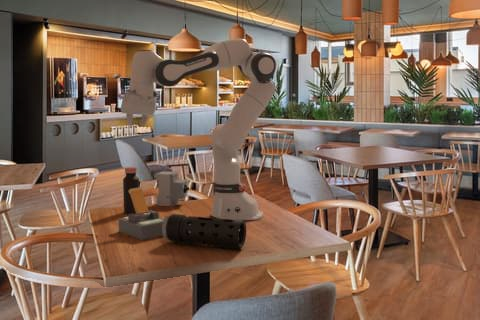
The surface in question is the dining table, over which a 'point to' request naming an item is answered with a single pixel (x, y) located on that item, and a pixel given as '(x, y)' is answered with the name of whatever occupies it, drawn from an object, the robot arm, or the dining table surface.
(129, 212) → the bottle
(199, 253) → the dining table surface
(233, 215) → the robot arm
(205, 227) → the muzzle brake
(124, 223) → the panel
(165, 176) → the circuit breaker
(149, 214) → the lever
